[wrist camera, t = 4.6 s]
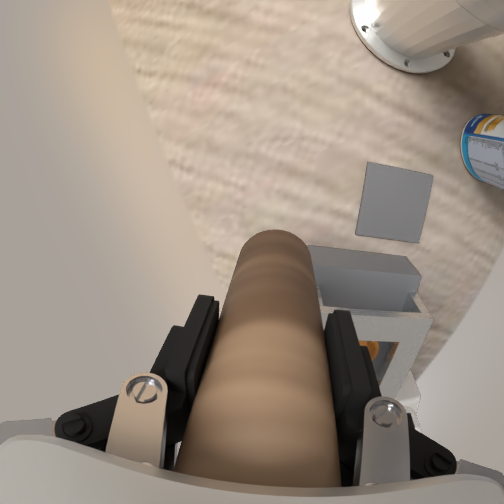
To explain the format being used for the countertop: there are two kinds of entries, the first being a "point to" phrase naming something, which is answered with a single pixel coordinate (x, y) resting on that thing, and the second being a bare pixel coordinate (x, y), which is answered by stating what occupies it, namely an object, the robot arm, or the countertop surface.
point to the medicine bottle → (410, 400)
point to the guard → (391, 337)
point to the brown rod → (266, 378)
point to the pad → (393, 203)
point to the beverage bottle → (484, 148)
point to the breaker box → (364, 282)
